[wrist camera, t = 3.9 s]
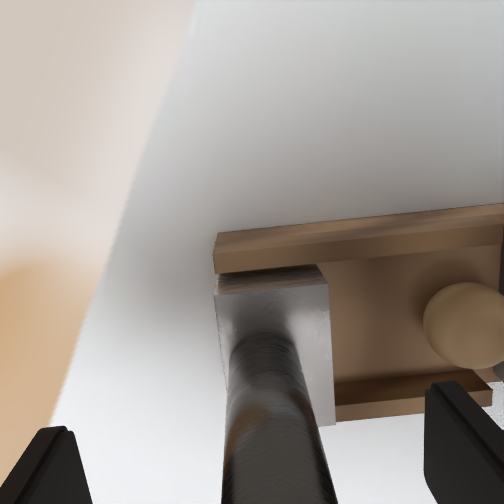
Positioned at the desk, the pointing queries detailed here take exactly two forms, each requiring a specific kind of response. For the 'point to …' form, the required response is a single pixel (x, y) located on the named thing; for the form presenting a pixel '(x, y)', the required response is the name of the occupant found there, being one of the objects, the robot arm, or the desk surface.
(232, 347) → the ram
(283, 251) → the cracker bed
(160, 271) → the desk surface
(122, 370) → the desk surface
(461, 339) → the nut
